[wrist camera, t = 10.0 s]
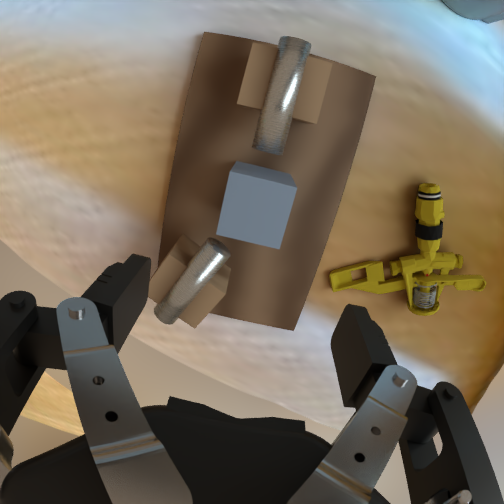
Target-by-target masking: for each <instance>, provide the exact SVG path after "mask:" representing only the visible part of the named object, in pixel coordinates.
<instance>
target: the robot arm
mask: <svg viewBox="0 0 504 504" xmlns="http://www.w3.org/2000/svg"><path fill="white" fill-rule="evenodd" d="M442 1H443V2H444V3H445V4H446V5H447V6H448V7H449V8H451V9H452V10H453V11H454V12H456V13H457V14H459V15H461V16H463V17H465V18H468V19H472V20H483V21H485V22H486V23H492V22H496V21H499V20H503V19H504V0H442ZM150 269H151V259H150V258H148V257H144V256H140V255H136V254H132V255H131V256H130V257H129V258H128V259H127V260H126V261H125V262H124V264H122V263H119V262H117V263H115V264H113V265H111V266H109V267H107V268H106V269H105V270H104V272H103V273H102V275H100V276H99V277H98V278H97V280H95V281H94V283H93V284H92V285H91V286H90V287H89V288H88V289H87V290H86V291H85V293H84V294H83V295H82V296H81V297H73V298H68V299H66V300H64V301H62V302H61V303H60V304H59V305H58V307H57V308H49V307H39V306H37V304H36V299H35V297H34V296H33V295H32V294H31V293H29V292H26V291H14V292H11V293H8V294H7V295H5V296H4V297H3V298H2V299H1V300H0V504H390V503H389V502H388V501H387V500H386V499H385V498H384V497H383V496H382V495H381V494H380V493H379V492H378V491H377V490H376V489H375V488H374V486H375V485H376V483H377V481H378V479H379V477H380V476H381V474H382V472H383V470H384V468H385V466H386V464H387V463H388V461H389V459H390V457H391V455H392V453H393V451H394V449H395V447H396V444H397V443H398V442H399V446H400V450H401V455H402V459H403V464H404V469H405V474H406V478H407V484H408V489H409V494H410V500H411V504H504V501H503V498H502V495H501V492H500V489H499V485H498V483H497V480H496V477H495V473H494V471H493V468H492V465H491V463H490V460H489V457H488V454H487V452H486V449H485V446H484V444H483V441H482V439H481V436H480V434H479V432H478V429H477V427H476V425H475V422H474V420H473V418H472V415H471V413H470V411H469V408H468V406H467V404H466V402H465V400H464V397H463V395H462V393H461V392H460V391H459V389H458V388H457V387H455V386H454V385H452V384H451V383H448V382H439V383H437V384H436V386H435V387H434V388H433V390H430V389H427V388H424V387H421V386H418V385H417V380H416V378H415V376H414V375H413V374H412V373H411V372H410V371H409V370H407V369H406V368H404V367H402V366H399V365H397V362H396V360H395V358H394V355H393V353H392V351H391V349H390V346H388V342H387V340H386V339H385V335H384V333H383V331H382V329H381V328H380V327H379V326H378V325H377V323H376V322H375V321H373V320H371V318H370V316H369V313H368V311H367V309H366V308H365V307H362V306H357V305H352V304H348V305H346V307H345V309H344V311H343V313H342V315H341V317H340V319H339V322H338V324H337V326H336V328H335V330H334V332H333V335H332V339H331V350H332V354H333V359H334V363H335V368H336V372H337V377H338V381H339V386H340V390H341V395H342V400H343V404H344V407H353V408H355V409H356V412H355V413H354V414H353V416H352V417H351V418H350V420H349V421H348V423H347V424H346V425H345V427H344V428H343V430H342V431H341V432H340V434H339V435H338V436H337V438H336V439H335V440H334V442H333V443H332V444H329V443H328V442H326V441H325V440H324V439H322V438H321V437H319V436H317V435H315V434H312V433H310V432H308V431H305V421H301V420H292V419H283V418H276V417H265V418H245V419H240V418H235V417H232V416H230V415H227V414H225V413H222V412H220V411H217V410H215V409H213V408H210V407H208V406H206V405H204V404H200V403H195V402H191V401H187V400H182V399H179V398H175V397H171V396H170V397H169V400H168V404H167V405H154V406H146V407H142V408H140V405H139V403H138V401H137V399H136V397H135V395H134V392H133V390H132V388H131V386H130V384H129V381H128V379H127V376H126V374H125V372H124V369H123V367H122V364H121V362H120V359H119V357H118V353H119V351H120V349H121V347H122V345H123V344H124V342H125V340H126V338H127V336H128V335H129V333H130V331H131V329H132V327H133V326H134V324H135V322H136V320H137V319H138V317H139V315H140V313H141V312H142V310H143V308H144V306H145V304H146V301H147V298H148V292H149V281H150ZM46 368H53V369H61V370H67V372H68V376H69V380H70V384H71V388H72V392H73V396H74V400H75V403H76V407H77V410H78V414H79V417H80V420H81V423H82V427H83V430H84V433H85V434H84V435H82V436H80V437H77V438H75V439H73V440H71V441H69V442H67V443H65V444H62V445H60V446H58V447H56V448H54V449H52V450H49V451H47V452H45V453H43V454H40V455H38V456H35V457H33V458H31V459H28V460H26V461H24V462H22V463H20V464H18V465H16V466H15V467H14V468H12V467H11V461H12V457H13V451H14V450H13V445H12V442H11V440H10V438H9V437H8V436H9V434H10V432H11V430H12V428H13V427H14V425H15V423H16V421H17V419H18V417H19V415H20V413H21V411H22V410H23V408H24V406H25V404H26V402H27V400H28V399H29V397H30V395H31V393H32V392H33V390H34V388H35V386H36V385H37V383H38V381H39V379H40V378H41V376H42V374H43V373H44V371H45V369H46ZM437 432H439V434H440V437H441V440H442V443H443V447H442V451H441V453H440V455H439V456H438V454H437V451H436V448H435V444H434V441H433V437H434V436H435V435H436V434H437Z"/></svg>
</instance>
